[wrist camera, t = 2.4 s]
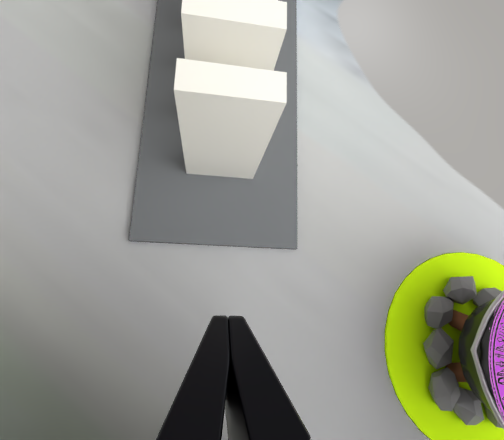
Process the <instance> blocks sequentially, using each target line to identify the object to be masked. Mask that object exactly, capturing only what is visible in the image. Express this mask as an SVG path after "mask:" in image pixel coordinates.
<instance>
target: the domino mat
mask: <svg viewBox="0 0 504 440" xmlns="http://www.w3.org/2000/svg"><path fill="white" fill-rule="evenodd" d="M278 1H283V2H287V30H286V33H285V36H284V40H283V43H282V46H281V49H280V52H279V55H278V58H277V61H276V65H275V68H274V71H280V72H287V103H286V105H285V108H284V110H283V112H282V114H281V117H280V119H279V121H278V123H277V126H276V128H275V130H274V132H273V135H272V137H271V139H270V141H269V144H268V146H267V148H266V150H265V153H264V155H263V157H262V159H261V162H260V164H259V166H258V168H257V171H256V173H255V175H254V177H253V179H247V178H235V177H222V176H210V175H198V174H186V168H185V161H184V154H183V148H182V141H181V135H180V128H179V121H178V115H177V108H176V101H175V95H174V82H175V71H176V61H177V58H181V59H185V55H184V43H183V30H182V18H181V9H182V0H158V1H157V9H156V18H155V26H154V34H153V43H152V51H151V60H150V68H149V76H148V85H147V93H146V102H145V110H144V118H143V127H142V135H141V144H140V152H139V160H138V169H137V177H136V186H135V194H134V202H133V211H132V219H131V228H130V236H129V241H137V242H157V243H177V244H198V245H218V246H238V247H258V248H278V249H297V66H296V0H278Z"/></svg>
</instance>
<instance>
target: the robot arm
mask: <svg viewBox="0 0 504 440" xmlns="http://www.w3.org/2000/svg"><path fill="white" fill-rule="evenodd" d="M224 410H226V420H227V431H228V440H310V438H311V437H310V435H309V433H308V431H307V429H306V428H305V426H304V424H303V422H302V420H301V419H300V417H299V415H298V413H297V411H296V410H295V408H294V406H293V404H292V402H291V401H290V399H289V397H288V395H287V394H286V392H285V390H284V388H283V386H282V385H281V383H280V381H279V379H278V377H277V376H276V374H275V372H274V370H273V368H272V367H271V365H270V363H269V361H268V360H267V358H266V356H265V354H264V352H263V351H262V349H261V347H260V345H259V343H258V342H257V340H256V338H255V336H254V334H253V333H252V331H251V329H250V327H249V325H248V324H247V322H246V320H245V319H244V317H242V316H229V317H227V316H213V317H212V319H211V321H210V323H209V325H208V327H207V330H206V332H205V334H204V336H203V338H202V340H201V343H200V345H199V347H198V349H197V351H196V354H195V356H194V358H193V360H192V362H191V364H190V367H189V369H188V371H187V373H186V375H185V377H184V380H183V382H182V384H181V386H180V388H179V390H178V393H177V395H176V397H175V399H174V401H173V404H172V406H171V408H170V410H169V412H168V414H167V417H166V419H165V421H164V423H163V425H162V427H161V430H160V432H159V434H158V436H157V438H156V440H221V437H222V428H223V419H224Z"/></svg>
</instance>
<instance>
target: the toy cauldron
mask: <svg viewBox="0 0 504 440" xmlns="http://www.w3.org/2000/svg"><path fill="white" fill-rule="evenodd" d="M385 356H386V362H387V367H388V373H389V376H390V379H391V382H392V385H393V388H394V390H395V393H396V395H397V397H398V399H399V401H400V403H401V404H402V406H403V408H404V410H405V412H406V413H407V415H408V416H409V417H410V418H411V420H412V421H413V422H414V423H415V425H416V426H417V427H418V428H419V430H420V431H421V432H423V433H424V434H425V435H426V436H427V437H428V438H430V439H431V440H504V266H503V265H501V264H500V263H498V262H496V261H494V260H492V259H489V258H486V257H483V256H480V255H477V254H469V253H461V252H460V253H449V254H443V255H440V256H437V257H434V258H431V259H429V260H427V261H425V262H424V263H422V264H421V265H419V266H417V267H416V268H415V269H414V270H413V271H412V272H411V273H410V274H409V275H408V276H407V277H406V278H405V279H404V280H403V282H402V284H401V285H400V287H399V288H398V290H397V291H396V293H395V295H394V298H393V300H392V303H391V305H390V308H389V311H388V316H387V321H386V327H385Z"/></svg>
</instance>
